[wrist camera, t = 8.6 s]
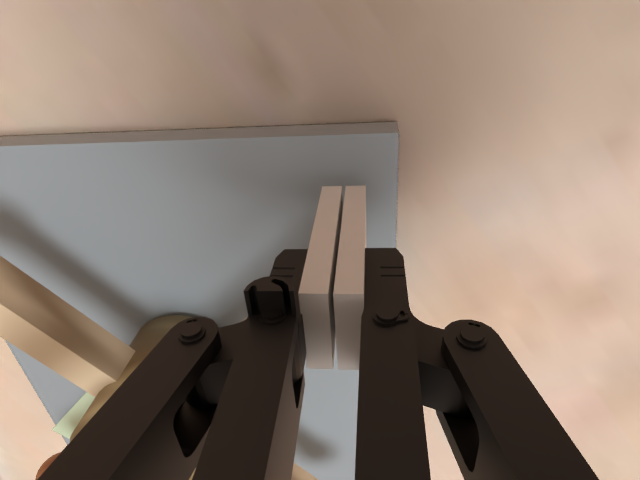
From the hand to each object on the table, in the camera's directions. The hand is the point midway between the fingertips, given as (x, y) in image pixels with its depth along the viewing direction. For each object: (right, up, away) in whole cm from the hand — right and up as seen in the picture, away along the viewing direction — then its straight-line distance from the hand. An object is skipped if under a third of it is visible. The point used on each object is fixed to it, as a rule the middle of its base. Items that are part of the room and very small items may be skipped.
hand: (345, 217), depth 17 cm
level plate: (-8, -6, +8) cm, 13 cm away
